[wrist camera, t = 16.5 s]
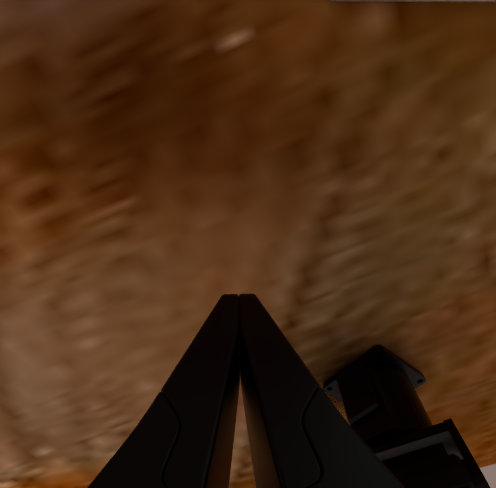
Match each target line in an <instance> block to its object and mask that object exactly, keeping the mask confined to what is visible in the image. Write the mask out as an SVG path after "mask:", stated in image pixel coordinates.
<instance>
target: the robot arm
mask: <svg viewBox="0 0 496 488" xmlns="http://www.w3.org/2000/svg"><path fill="white" fill-rule="evenodd" d="M239 339H240V344H239ZM240 379H241V388H242V395H243V402H244V409H245V416H246V423H247V429H248V436H249V443H250V450H251V457H252V464H253V470H254V477H255V484H256V488H490V486H489V485H488V483H487V481H486V479H485V477H484V476H483V474H482V472H481V470H480V468H479V467H478V465H477V463H476V461H475V460H474V458H473V456H472V454H471V453H470V451H469V449H468V447H467V446H466V444H465V442H464V440H463V439H462V437H461V435H460V433H459V432H458V430H457V428H456V427H455V425H454V423H453V421H452V420H451V418H450V419H447V420H444V422H443V423H439V424H436V425H432V423H431V421H430V419H429V417H428V415H427V413H426V411H425V409H424V407H423V405H422V403H421V401H420V399H419V397H418V395H417V393H416V391H415V388H417V387H418V386H420V385H422V384H423V383H424V382H425V381H426V379H425V377H424V375H423V374H422V373H420V372H419V371H417V370H416V369H414V368H413V367H411V366H410V365H408V364H407V363H406V362H404V361H403V360H401V359H400V358H398V357H397V356H395V355H394V354H392V353H391V352H390V351H388V350H387V349H385V348H384V347H382V346H377V347H375V348H373V349H372V350H370V351H369V352H367V353H366V354H365V355H363V356H362V357H360V358H359V359H358V360H356V361H355V362H353V363H352V364H350V365H349V366H348V367H346V368H345V369H343V370H342V371H341V372H339V373H338V374H336V375H335V376H333V377H332V378H331V379H329V380H328V381H326V382H325V383H324V384H323V387H324V391H326V392H327V393H329V394H331V395H333V396H334V397H336V398H338V399H340V400H341V401H342V402H343V405H344V409H345V412H346V416H347V419H348V422H349V423H350V425H349V424H348V423H347V421H346V420H345V419H344V418H343V416H342V415H341V414H340V412H339V411H338V410H337V408H336V407H335V406H334V404H333V403H332V402H331V400H330V399H329V398H328V396H327V395H326V393H325V392H324V391H323V389H322V388H321V387H319V384H318V382H317V381H316V379H315V378H314V377H313V375H312V374H311V372H310V371H309V370H308V368H307V367H306V365H305V364H304V363H303V361H302V360H301V358H300V357H299V355H298V354H297V353H296V351H295V350H294V348H293V347H292V346H291V344H290V343H289V341H288V340H287V339H286V337H285V336H284V334H283V333H282V332H281V330H280V329H279V327H278V326H277V324H276V323H275V322H274V320H273V319H272V317H271V316H270V315H269V313H268V312H267V310H266V309H265V308H264V306H263V305H262V303H261V302H260V301H259V299H258V298H257V296H256V295H255V294H240V295H239V296H238V295H237V294H224V295H222V296H221V298H220V299H219V301H218V302H217V304H216V305H215V307H214V309H213V310H212V312H211V313H210V315H209V316H208V318H207V319H206V321H205V322H204V324H203V326H202V327H201V329H200V330H199V332H198V333H197V335H196V336H195V338H194V340H193V341H192V343H191V344H190V346H189V347H188V349H187V350H186V352H185V353H184V355H183V357H182V358H181V360H180V361H179V363H178V364H177V366H176V367H175V369H174V371H173V372H172V374H171V375H170V377H169V378H168V380H167V381H166V383H165V384H164V386H163V388H162V389H161V392H159V394H158V395H157V397H156V398H155V400H154V401H153V403H152V404H151V406H150V407H149V409H148V410H147V412H146V413H145V415H144V416H143V418H142V419H141V420H140V422H139V423H138V425H137V426H136V428H135V429H134V430H133V431H132V433H131V434H130V435H129V437H128V438H127V439H126V440H125V442H124V443H123V444H122V446H121V447H120V448H119V449H118V451H117V452H116V453H115V454H114V456H113V457H112V458H111V459H110V460H109V462H108V463H107V464H106V465H105V467H104V468H103V469H102V470H101V472H100V473H99V474H98V475H97V476H96V478H95V479H94V480H93V481H92V483H91V484H90V485H89V486H88V487H87V488H229V479H230V469H231V460H232V451H233V441H234V432H235V423H236V413H237V404H238V395H239V384H240Z"/></svg>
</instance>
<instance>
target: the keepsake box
mask: <svg viewBox="0 0 496 488" xmlns="http://www.w3.org/2000/svg"><path fill="white" fill-rule="evenodd" d="M330 1H352V2H496V0H330Z"/></svg>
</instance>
